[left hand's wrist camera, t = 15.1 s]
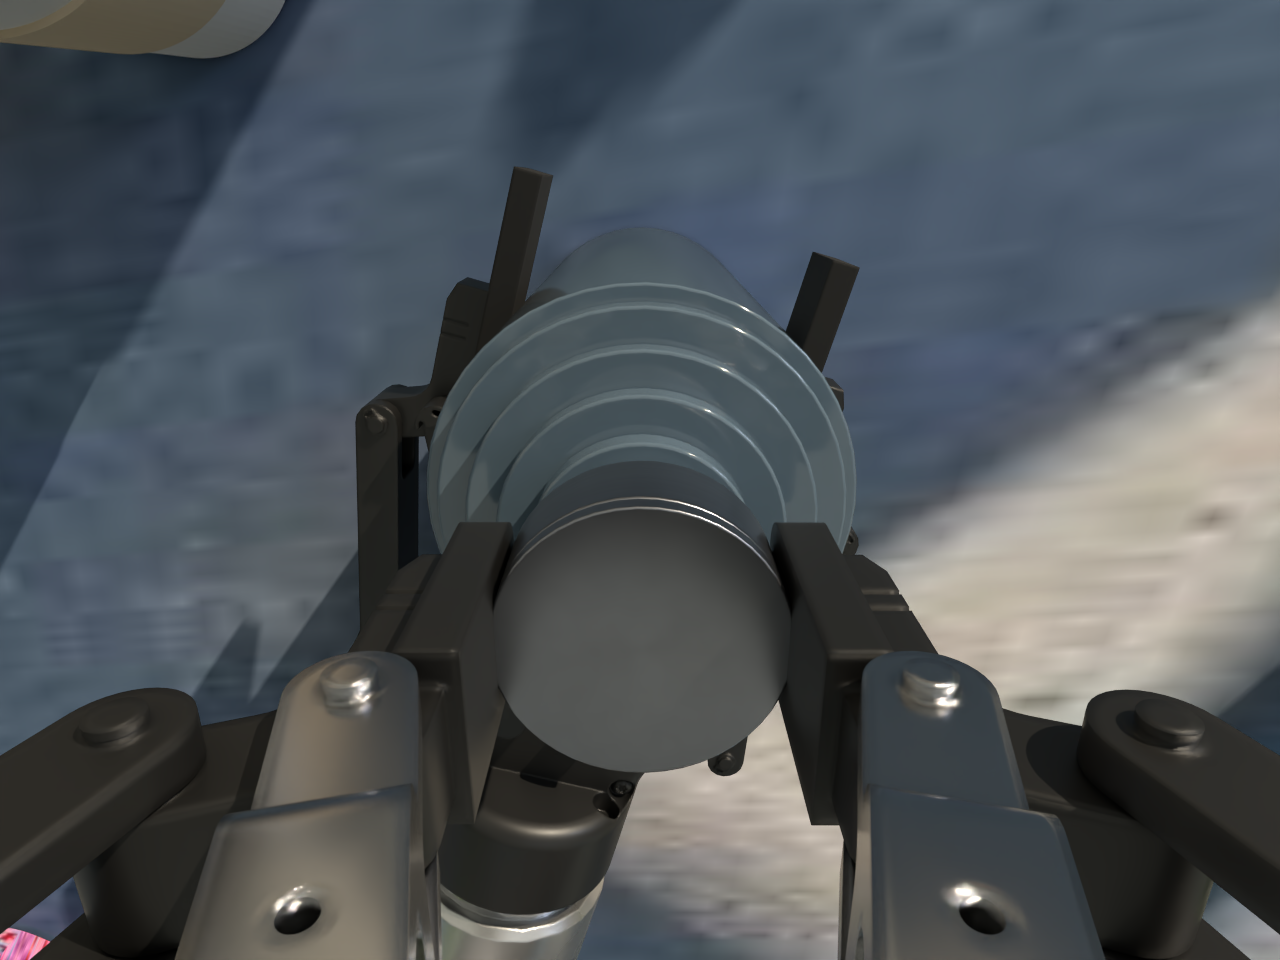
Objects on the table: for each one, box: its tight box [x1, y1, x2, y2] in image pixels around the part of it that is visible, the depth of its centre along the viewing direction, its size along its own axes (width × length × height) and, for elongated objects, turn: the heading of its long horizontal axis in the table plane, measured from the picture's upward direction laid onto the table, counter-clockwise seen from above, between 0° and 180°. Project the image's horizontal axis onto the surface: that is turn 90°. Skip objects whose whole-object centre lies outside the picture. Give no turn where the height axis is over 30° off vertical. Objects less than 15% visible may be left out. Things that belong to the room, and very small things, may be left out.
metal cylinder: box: [493, 461, 792, 773], centre depth 11 cm, size 4×4×2 cm
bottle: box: [427, 227, 856, 554], centre depth 20 cm, size 8×8×21 cm
